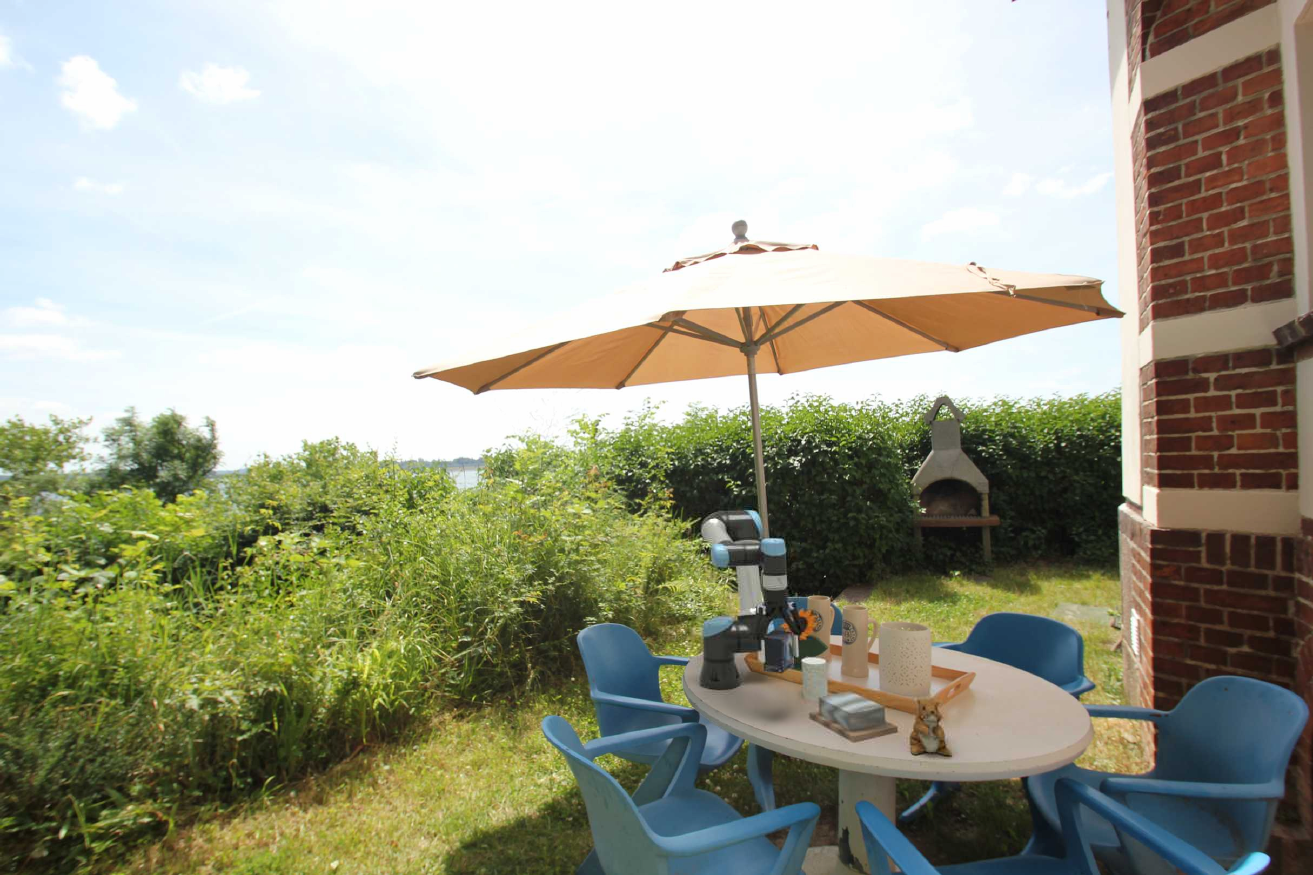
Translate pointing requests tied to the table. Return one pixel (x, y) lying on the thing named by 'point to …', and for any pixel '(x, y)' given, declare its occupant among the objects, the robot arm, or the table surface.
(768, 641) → the small box
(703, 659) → the robot arm
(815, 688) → the cup
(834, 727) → the building base
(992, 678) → the table surface
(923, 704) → the stuffed squirrel
